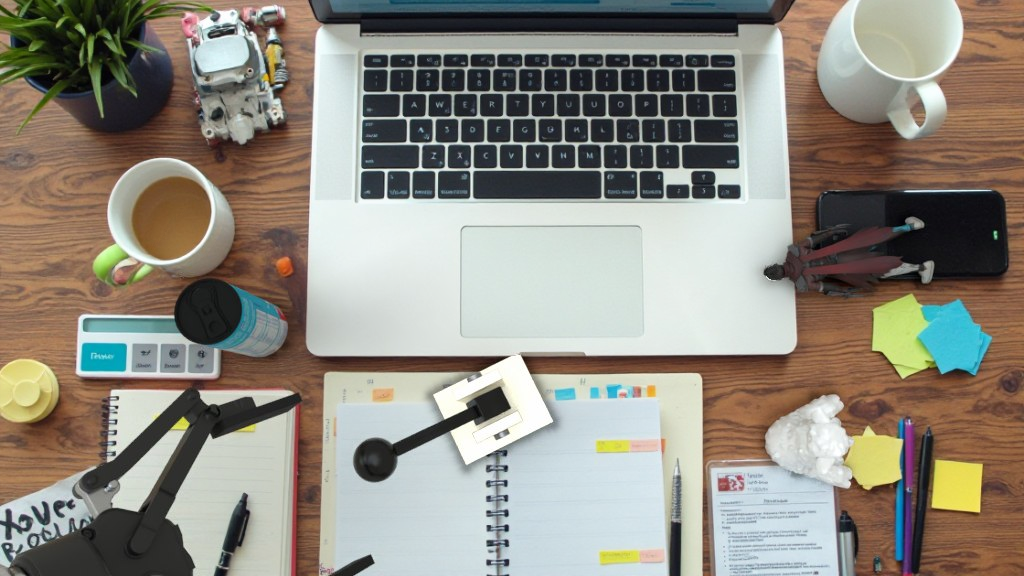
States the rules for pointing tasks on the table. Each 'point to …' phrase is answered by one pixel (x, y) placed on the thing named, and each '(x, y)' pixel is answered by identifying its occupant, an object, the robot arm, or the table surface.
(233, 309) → the beverage can
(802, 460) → the sitting furry creature
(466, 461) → the white c-shaped piece
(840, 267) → the action figure
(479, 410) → the switch
